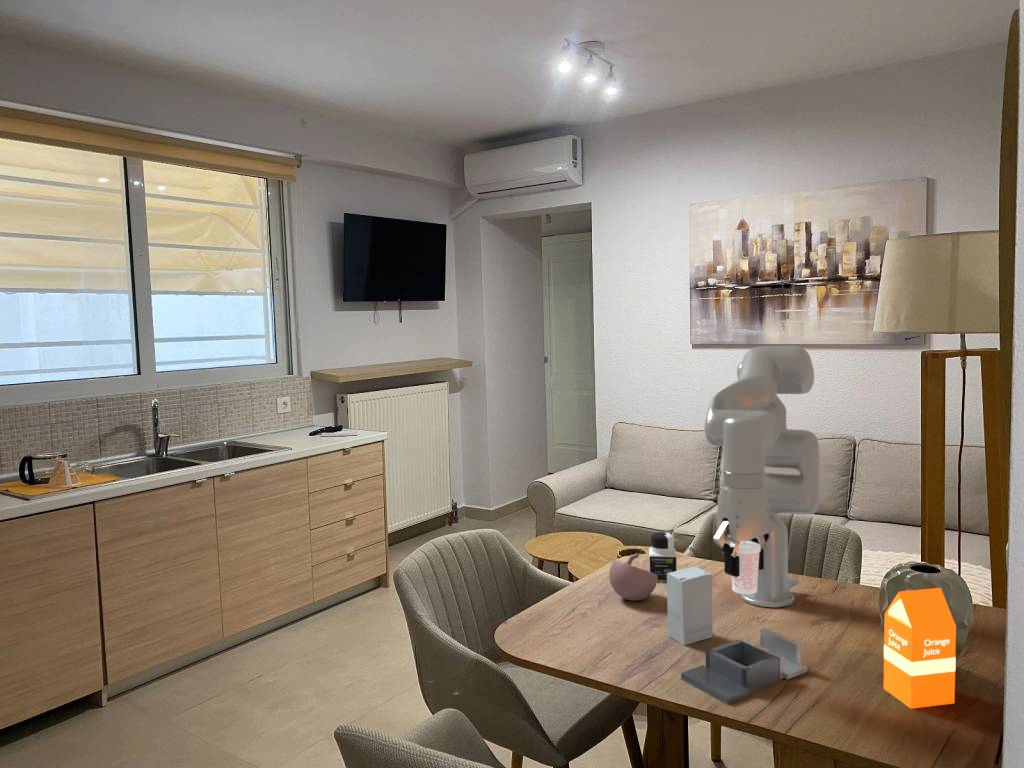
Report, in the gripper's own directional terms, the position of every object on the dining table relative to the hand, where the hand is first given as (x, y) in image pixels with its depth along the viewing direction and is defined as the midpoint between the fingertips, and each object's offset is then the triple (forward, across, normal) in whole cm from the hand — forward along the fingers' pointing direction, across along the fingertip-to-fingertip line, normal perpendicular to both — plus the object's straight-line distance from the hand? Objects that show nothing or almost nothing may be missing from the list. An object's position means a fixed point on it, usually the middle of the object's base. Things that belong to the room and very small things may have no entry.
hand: (744, 570), depth 146 cm
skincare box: (+21, -4, -19) cm, 29 cm away
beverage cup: (+4, 0, 0) cm, 4 cm away
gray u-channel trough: (+21, -7, 0) cm, 22 cm away
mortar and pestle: (+21, -9, -44) cm, 50 cm away
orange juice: (+21, -20, +23) cm, 37 cm away
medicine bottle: (+22, -26, -52) cm, 62 cm away
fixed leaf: (+21, +4, 0) cm, 22 cm away
